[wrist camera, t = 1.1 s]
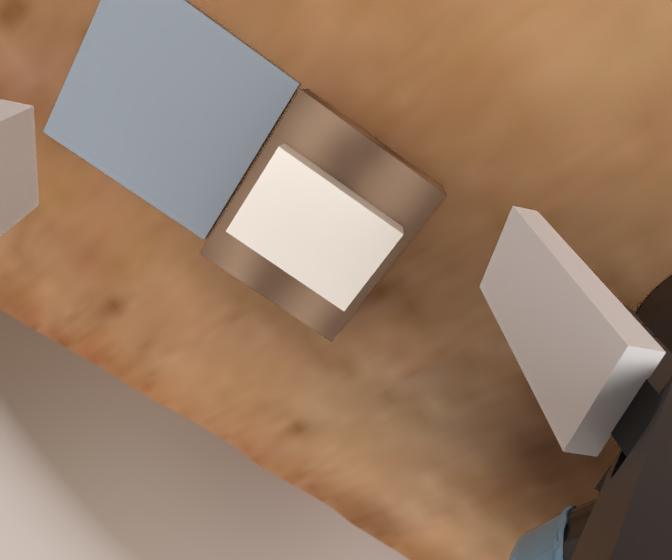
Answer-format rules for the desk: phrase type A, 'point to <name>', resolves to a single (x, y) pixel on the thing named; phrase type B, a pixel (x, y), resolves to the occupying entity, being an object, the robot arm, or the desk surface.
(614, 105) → the desk surface
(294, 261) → the tile
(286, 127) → the deck
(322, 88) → the desk surface
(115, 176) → the mat
